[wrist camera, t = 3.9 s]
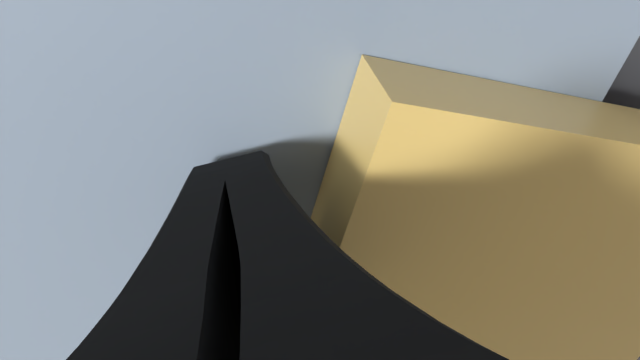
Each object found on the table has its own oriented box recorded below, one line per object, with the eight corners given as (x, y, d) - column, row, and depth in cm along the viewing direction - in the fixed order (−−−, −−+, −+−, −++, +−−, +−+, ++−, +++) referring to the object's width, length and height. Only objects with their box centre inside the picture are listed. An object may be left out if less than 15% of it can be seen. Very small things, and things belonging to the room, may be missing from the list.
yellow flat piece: (717, 124, 12) (791, 171, 10) (577, 323, 15) (618, 381, 13) (361, 54, 9) (392, 101, 8) (282, 307, 12) (293, 375, 11)
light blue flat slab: (647, -134, 10) (730, -122, 9) (400, 360, 18) (420, 417, 16) (-417, -521, 6) (-637, -635, 5) (-176, 341, 13) (-229, 416, 12)
